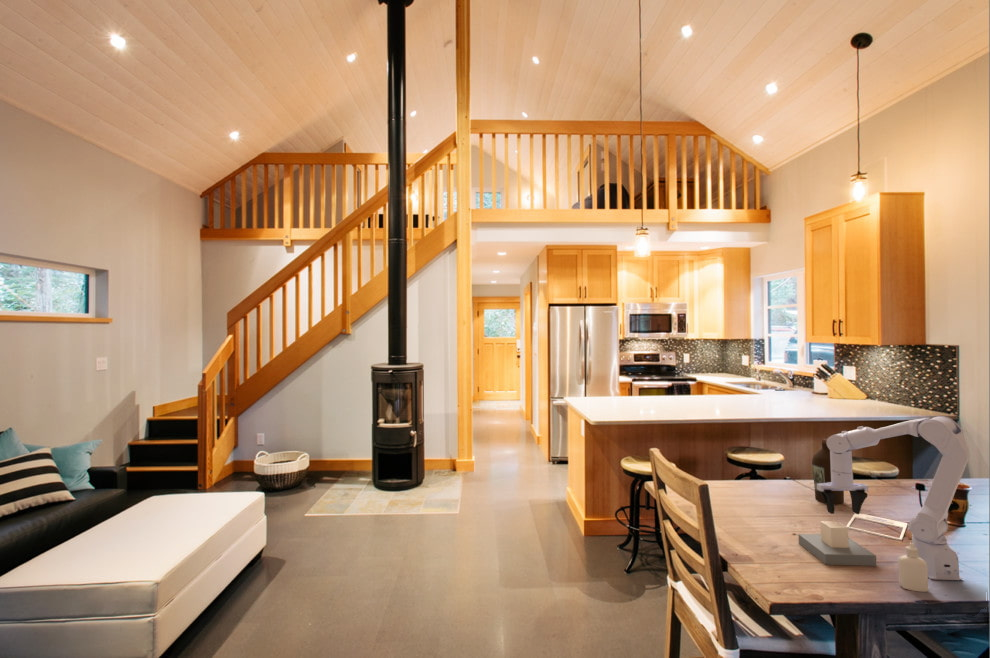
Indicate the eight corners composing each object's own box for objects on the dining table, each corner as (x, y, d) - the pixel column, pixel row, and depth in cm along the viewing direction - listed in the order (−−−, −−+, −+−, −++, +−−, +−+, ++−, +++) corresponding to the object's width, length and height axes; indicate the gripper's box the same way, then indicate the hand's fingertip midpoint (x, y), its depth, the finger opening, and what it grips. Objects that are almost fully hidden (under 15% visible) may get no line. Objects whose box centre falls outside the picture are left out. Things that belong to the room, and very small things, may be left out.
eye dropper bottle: (901, 581, 124) (899, 537, 124) (929, 589, 119) (927, 543, 120) (898, 587, 121) (895, 541, 121) (926, 595, 117) (924, 549, 117)
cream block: (848, 547, 137) (848, 527, 137) (831, 547, 138) (830, 527, 138) (837, 540, 142) (837, 521, 142) (821, 540, 143) (820, 521, 143)
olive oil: (833, 496, 189) (831, 436, 189) (852, 505, 178) (849, 442, 179) (807, 496, 189) (805, 436, 190) (824, 505, 179) (822, 442, 179)
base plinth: (876, 565, 132) (876, 555, 132) (825, 564, 134) (825, 554, 134) (844, 544, 146) (844, 534, 146) (798, 543, 148) (798, 533, 148)
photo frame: (907, 522, 160) (901, 538, 147) (907, 525, 160) (901, 542, 147) (855, 511, 170) (845, 525, 158) (855, 514, 170) (846, 529, 158)
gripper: (856, 467, 150) (858, 508, 150) (810, 467, 152) (812, 508, 151) (872, 473, 143) (874, 516, 143) (824, 473, 145) (825, 516, 144)
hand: (843, 512), depth 147 cm, fingers open, 7 cm apart
